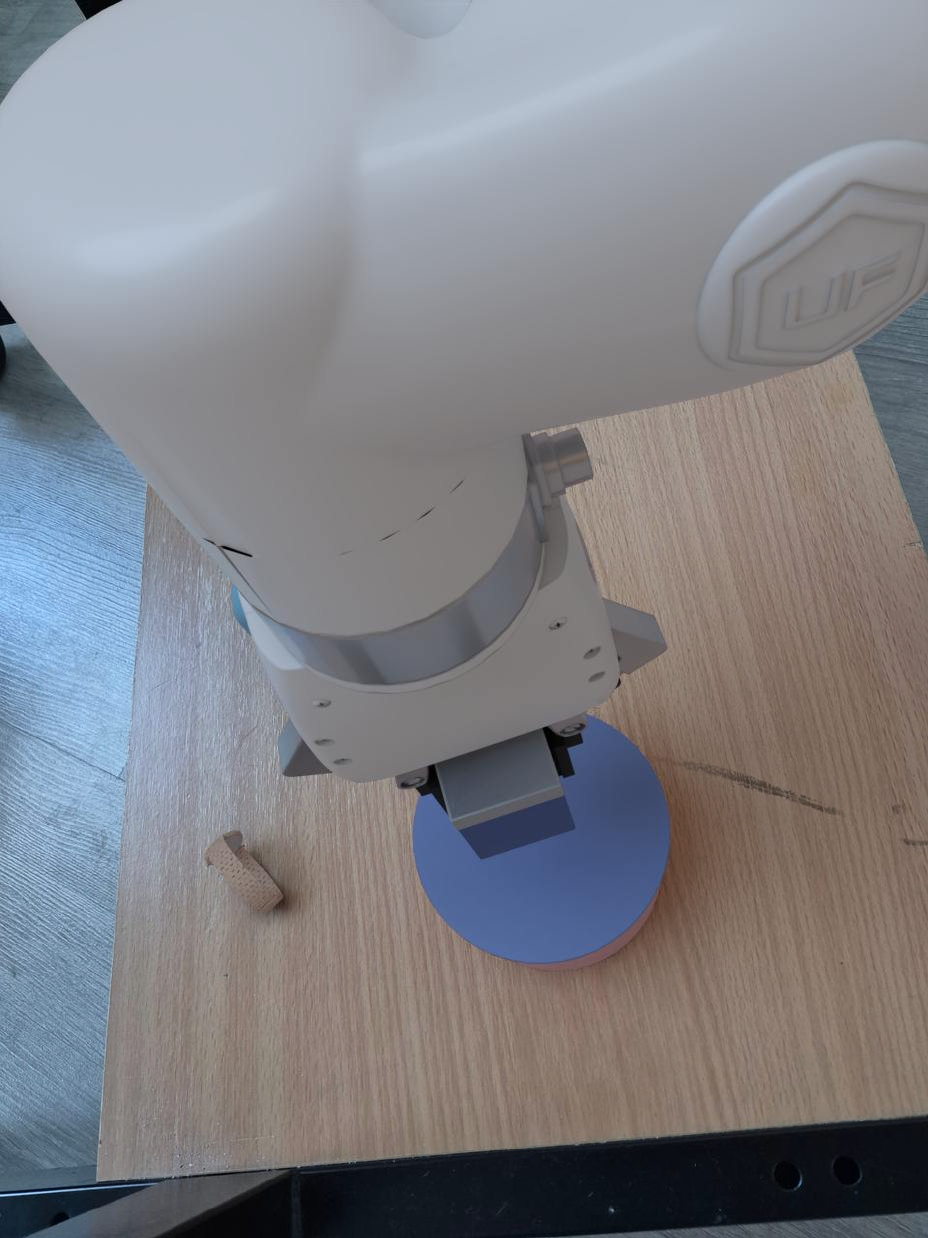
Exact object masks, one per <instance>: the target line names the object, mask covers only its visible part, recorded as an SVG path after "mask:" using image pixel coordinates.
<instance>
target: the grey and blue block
mask: <svg viewBox="0 0 928 1238" xmlns="http://www.w3.org/2000/svg"><path fill="white" fill-rule="evenodd" d="M435 768H436V772H437V775H438V779H439V783H440V786H441V790H442V794H443V797H444V801H445V804H446V808H447V812H448V815H449V819H450V822H451V823H452V824H453V826H454V827H455V828H456V830H458V831H459V832H460V833H461V835H462V836H463V837H464V838H465V840H466V841H467V842H468V844H469V845H470V846H471V848H472V849H473V850H474V852H475V853H476V854H477V855H478V857H479V858H480V859H481V860H483V859H486V858H489V857H492V856H495V855H498V854H501V853H504V852H507V851H510V850H513V849H516V848H519V847H522V846H525V845H529V844H532V843H535V842H538V841H541V840H544V839H547V838H550V837H553V836H556V835H559V834H562V833H565V832H568V831H571V830H574V829H575V828H576V827H575V824H574V821H573V818H572V815H571V812H570V809H569V806H568V803H567V800H566V797H565V794H564V791H563V788H562V785H561V782H560V779H559V776H558V773H557V770H556V767H555V764H554V761H553V759H552V756H551V753H550V750H549V747H548V744H547V741H546V738H545V735H544V732H543V729H542V728H540V729H537V730H534V731H531V732H528V733H525V734H522V735H519V736H516V737H513V738H510V739H507V740H504V741H502V742H499V743H496V744H493V745H490V746H487V747H484V748H481V749H478V750H475V751H472V752H468V753H465V754H462V755H459V756H456V757H453V758H450V759H447V760H444V761H441V762H438V763H435Z"/></svg>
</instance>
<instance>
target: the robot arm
mask: <svg viewBox="0 0 928 1238" xmlns="http://www.w3.org/2000/svg"><path fill="white" fill-rule="evenodd" d="M927 292H928V0H120V1H119V2H117V3H115V4H113V5H111V6H108V7H106V8H104V9H102V10H100V11H99V12H98V13H96V14H94V15H93V16H91V17H89V18H88V19H86V20H85V21H83V22H82V23H80V24H78V25H77V26H75V27H74V28H72V29H71V30H69V32H67V33H66V34H64V35H63V36H62V37H61V38H59V39H58V40H57V41H56V42H54V43H53V44H52V45H50V46H49V47H48V48H47V49H46V50H45V51H44V52H43V53H42V54H41V55H40V56H39V57H38V58H37V59H36V60H35V61H34V62H32V64H31V65H30V66H29V67H28V68H26V69H25V71H24V72H23V73H22V75H20V77H19V78H18V79H17V80H16V81H15V83H14V84H13V85H12V86H11V88H10V89H9V91H8V92H7V94H6V96H5V97H4V98H3V100H2V101H1V103H0V302H1V303H2V305H3V306H4V308H5V309H6V310H7V312H8V313H9V315H10V316H11V318H12V319H13V320H14V322H15V323H16V324H17V325H18V327H19V328H20V330H21V331H22V333H23V334H24V335H25V336H26V338H27V339H28V341H29V342H30V344H31V345H32V346H33V347H34V348H35V350H36V351H37V352H38V354H39V355H40V356H41V357H42V358H43V359H44V361H45V362H46V363H47V364H48V366H49V367H50V368H51V369H52V370H53V371H54V373H55V374H56V376H58V377H59V379H60V380H62V382H63V383H64V385H65V386H66V387H67V388H68V389H69V391H70V392H71V393H72V395H74V396H75V398H76V399H77V400H78V402H79V403H80V404H81V405H82V406H83V407H84V408H85V410H86V411H87V412H88V413H89V414H90V415H91V417H92V418H93V419H94V420H95V422H96V423H97V424H98V425H99V427H101V429H102V430H103V431H104V432H105V433H106V435H107V436H108V437H109V439H110V440H111V441H112V442H113V443H114V444H115V446H117V448H118V449H119V451H120V452H121V453H123V455H124V456H125V458H126V459H127V460H128V461H129V462H130V463H131V465H132V466H133V467H134V468H135V469H136V471H137V472H138V473H139V474H140V476H141V477H142V478H143V479H144V480H145V481H146V483H147V484H148V485H149V486H150V487H151V489H152V490H153V491H154V492H155V493H156V495H157V496H158V497H159V498H160V500H161V501H162V502H163V503H164V504H165V506H166V507H167V508H168V509H169V510H170V511H171V512H172V514H173V515H174V516H175V517H176V519H177V520H178V521H179V522H180V523H181V524H182V525H183V527H184V528H185V529H186V530H187V531H188V533H189V534H190V535H191V536H192V537H193V538H194V539H195V541H196V542H197V543H198V544H199V546H201V548H202V549H203V550H204V551H205V552H206V554H208V556H209V557H210V558H211V559H212V561H213V562H214V563H215V564H216V565H217V567H219V569H220V570H221V571H222V572H223V573H224V574H225V576H226V577H227V578H228V579H229V580H230V581H231V583H232V585H233V584H234V585H235V586H236V588H237V590H238V594H239V599H240V602H241V605H242V609H243V612H244V614H245V617H246V620H247V623H248V627H249V630H250V633H251V636H252V637H251V636H250V637H251V639H252V642H253V646H254V648H255V650H256V652H257V655H258V657H259V659H260V662H261V664H262V667H263V670H264V671H265V674H266V676H267V677H268V680H269V682H270V683H271V686H272V688H273V690H274V692H275V694H276V695H277V698H278V699H279V701H280V703H281V705H282V707H283V708H284V710H285V712H286V714H287V716H288V719H287V721H286V723H285V725H284V727H283V729H282V731H281V733H280V735H279V737H278V739H277V741H276V744H277V745H276V746H277V750H278V754H279V755H278V756H279V761H280V765H281V770H282V775H283V776H284V777H286V778H297V777H306V776H316V775H326V774H335V775H336V776H338V777H339V778H341V779H343V780H345V781H348V782H352V783H355V784H365V783H371V782H377V781H380V780H386V779H389V778H393V777H394V779H395V784H396V787H397V788H398V789H400V790H405V791H406V790H412V789H415V790H416V791H417V792H418V794H419V795H421V796H425V795H428V794H432V795H433V796H434V798H435V799H436V800H437V801H438V803H439V804H440V805H441V807H442V808H443V809H444V811H445V812H446V813H447V815H448V812H447V808H446V804H445V801H444V797H443V794H442V790H441V786H440V783H439V779H438V775H437V772H436V768H435V763H438V762H441V761H444V760H447V759H450V758H453V757H456V756H459V755H462V754H465V753H468V752H472V751H475V750H478V749H481V748H484V747H487V746H490V745H493V744H496V743H499V742H502V741H504V740H507V739H510V738H513V737H516V736H519V735H522V734H525V733H528V732H531V731H534V730H537V729H540V728H542V729H543V732H544V735H545V738H546V741H547V744H548V747H549V750H550V753H551V756H552V759H553V761H554V764H555V767H556V770H557V773H558V776H563V779H564V778H567V777H570V776H573V775H575V772H574V769H573V765H572V762H571V759H570V755H569V752H568V749H567V748H570V747H573V746H576V745H579V744H582V743H583V739H582V735H581V732H582V731H584V730H585V729H586V728H587V727H588V725H589V724H588V722H587V719H586V716H585V714H586V713H587V712H589V711H590V710H593V709H595V708H597V707H599V706H601V705H602V704H604V703H605V702H608V700H609V698H610V697H611V696H612V695H613V694H614V692H615V690H617V689H618V688H619V687H620V686H621V685H622V680H621V678H620V676H622V675H623V674H625V675H630V674H632V673H633V672H635V671H637V670H638V669H641V667H643V666H645V665H646V664H649V662H651V661H653V660H654V659H656V658H658V657H659V656H661V655H662V654H664V653H665V652H666V651H667V650H668V644H667V641H666V639H665V637H664V634H663V632H662V629H661V628H660V625H659V622H658V620H657V618H656V616H655V615H654V614H651V613H648V612H645V611H642V610H640V609H637V608H634V607H631V606H628V605H625V604H622V603H619V602H616V601H615V600H610V599H608V598H606V597H605V598H604V597H603V596H602V593H601V589H600V585H599V582H598V579H597V577H596V573H595V570H594V567H593V563H592V560H591V557H590V554H589V551H588V547H587V546H586V543H585V540H584V537H583V535H582V532H581V529H580V526H579V524H578V522H577V519H576V517H575V514H574V511H573V510H572V507H571V505H570V503H569V501H568V499H567V497H566V495H567V490H566V489H568V488H571V487H574V486H576V485H580V484H583V483H585V482H588V481H590V480H593V479H594V472H593V471H594V470H593V466H592V463H591V459H590V456H589V452H588V449H587V446H586V444H585V441H584V439H583V435H582V434H581V432H580V430H579V429H578V427H577V426H575V427H572V428H569V429H566V430H564V431H560V432H558V433H554V434H552V435H548V433H547V432H546V431H547V430H551V429H556V428H560V427H565V426H569V425H570V426H571V425H575V424H580V423H584V422H589V421H594V420H599V419H603V418H609V417H613V416H618V415H619V416H620V415H624V414H628V413H633V412H637V411H638V412H639V411H644V410H649V409H652V408H653V409H655V408H658V407H664V406H669V405H673V404H679V403H683V402H688V401H692V400H697V399H702V398H706V397H710V396H713V395H719V394H722V393H727V392H730V391H734V390H737V389H741V388H745V387H748V386H751V385H754V384H758V383H762V382H765V381H768V380H771V379H774V378H777V377H780V376H784V375H786V374H788V373H795V372H798V371H802V370H804V369H808V368H811V367H814V366H817V365H821V364H823V363H826V362H828V361H830V360H832V359H834V358H836V357H839V356H840V355H842V354H845V353H847V352H849V351H851V350H853V349H854V348H856V347H857V346H859V345H861V344H862V343H864V342H865V341H867V340H869V339H871V338H872V337H873V336H875V335H876V334H878V333H879V332H880V331H881V330H883V329H884V328H885V327H887V326H888V325H889V324H891V323H892V322H893V321H895V320H896V319H897V318H898V317H899V316H900V315H901V314H902V313H904V312H905V311H906V310H907V309H909V308H910V307H911V306H913V305H914V304H915V303H916V302H918V301H919V300H921V298H922V297H924V295H926V294H927ZM545 430H546V431H545ZM540 431H541V433H537V434H534V435H531V434H532V433H536V432H540ZM542 431H544V432H542ZM448 816H449V815H448Z"/></svg>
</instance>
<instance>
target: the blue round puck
mask: <svg viewBox="0 0 928 1238" xmlns="http://www.w3.org/2000/svg"><path fill="white" fill-rule="evenodd" d="M585 716H586V719H587V722H588V724H589V725H588V727H587V728H586V729H585V730H584V731H582V732H581V735H582V739H583V743H582V744H579V745H576V746H573V747H570V748H567V749H568V752H569V755H570V759H571V762H572V765H573V769H574V772H575V775H573V776H570V777H567V778H564V779H563V776H559V779H560V782H561V785H562V788H563V791H564V794H565V797H566V800H567V803H568V806H569V809H570V812H571V815H572V818H573V821H574V824H575V827H576V828H575V829H574V830H571V831H568V832H565V833H562V834H559V835H556V836H553V837H550V838H547V839H544V840H541V841H538V842H535V843H532V844H529V845H525V846H522V847H519V848H516V849H513V850H510V851H507V852H504V853H501V854H498V855H495V856H492V857H489V858H486V859H483V860H481V859H480V858H479V857H478V855H477V854H476V853H475V852H474V850H473V849H472V848H471V846H470V845H469V844H468V842H467V841H466V840H465V838H464V837H463V836H462V835H461V833H460V832H459V831H458V830H456V828H455V827H454V826H453V824H452V823H451V822H450V819H449V816H448V815H447V813H446V812H445V811H444V809H443V808H442V807H441V805H440V804H439V803H438V801H437V800H436V799H435V798H434V796H433V795H432V794H428V795H425V796H421V795H420V794H419V795H418V799H417V802H416V806H415V811H414V815H413V822H412V833H411V834H412V835H411V836H412V837H411V838H412V852H413V858H414V864H415V868H416V871H417V875H418V877H419V882H420V884H421V886H422V889H423V891H424V892H425V894H426V897H427V898H428V900H429V902H430V903H431V905H432V907H433V908H434V910H435V911H436V912H437V913H436V914H438V916H440V917H441V918H442V920H443V921H444V922H445V923H446V924H447V925H448V927H449V928H450V929H452V931H454V932H455V933H456V934H457V935H459V937H460V938H462V939H463V940H465V941H466V942H468V943H470V944H471V945H472V946H474V947H476V948H477V949H479V950H481V951H483V952H485V953H488V954H490V955H491V956H493V957H498V958H500V959H504V960H507V961H509V962H513V963H515V964H516V965H520V966H523V967H526V968H529V969H534V970H540V971H546V972H565V971H574V970H579V969H582V968H587V967H590V966H593V965H595V964H598V963H599V962H603V961H604V960H607V959H608V958H609V957H612V956H613V955H615V954H616V953H618V952H619V951H620V950H622V949H623V948H624V947H625V946H627V944H629V942H631V941H632V939H634V938H635V936H636V935H637V934H638V933H639V932H640V930H642V928H643V927H644V925H645V924H646V923H647V921H648V918H649V917H650V915H651V913H652V911H653V910H654V906H655V903H656V902H657V899H658V896H659V892H660V889H661V884H662V880H663V878H664V876H665V874H666V873H665V872H666V869H667V864H668V860H669V855H670V846H671V825H670V824H671V822H670V821H671V820H670V813H669V808H668V803H667V800H666V799H667V798H666V796H665V792H664V790H663V786H662V785H661V782H660V780H659V777H658V776H657V773H656V772H655V770H654V769H653V766H651V763H650V762H649V761H648V759H647V757H646V756H645V755H644V754H643V753H642V751H641V750H640V749H639V748H638V746H637V745H635V743H634V742H632V741H631V740H630V739H629V738H628V736H626V735H625V734H624V733H622V732H621V731H620V730H618V729H617V728H615V727H614V726H612V725H611V724H609V723H607V722H605V721H604V720H601V719H600V718H598V717H596V716H594V715H591V714H587V713H585Z"/></svg>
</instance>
